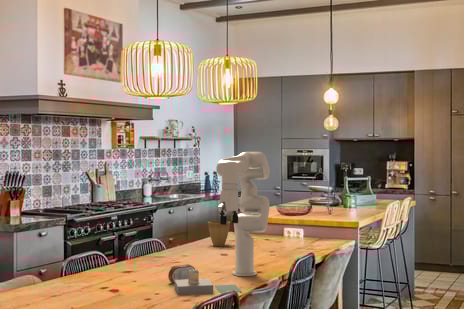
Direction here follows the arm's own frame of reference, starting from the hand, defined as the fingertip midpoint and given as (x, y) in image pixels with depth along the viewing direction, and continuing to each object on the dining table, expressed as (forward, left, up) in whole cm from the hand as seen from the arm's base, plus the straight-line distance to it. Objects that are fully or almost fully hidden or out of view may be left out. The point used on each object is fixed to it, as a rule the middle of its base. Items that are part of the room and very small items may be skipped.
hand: (229, 223), depth 287 cm
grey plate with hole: (+4, -17, -30) cm, 35 cm away
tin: (-15, -20, -30) cm, 40 cm away
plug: (+4, -17, -30) cm, 35 cm away
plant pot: (-121, +17, -30) cm, 126 cm away
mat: (+4, -1, -30) cm, 30 cm away
